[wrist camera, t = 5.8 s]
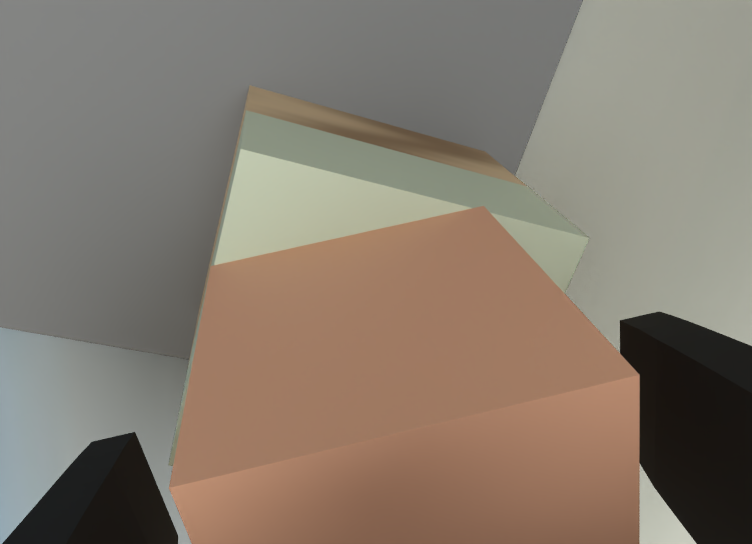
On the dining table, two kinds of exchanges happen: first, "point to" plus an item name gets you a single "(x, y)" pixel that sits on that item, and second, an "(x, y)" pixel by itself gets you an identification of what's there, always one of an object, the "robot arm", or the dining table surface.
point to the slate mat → (216, 130)
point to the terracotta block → (405, 398)
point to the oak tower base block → (364, 139)
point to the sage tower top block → (364, 200)
